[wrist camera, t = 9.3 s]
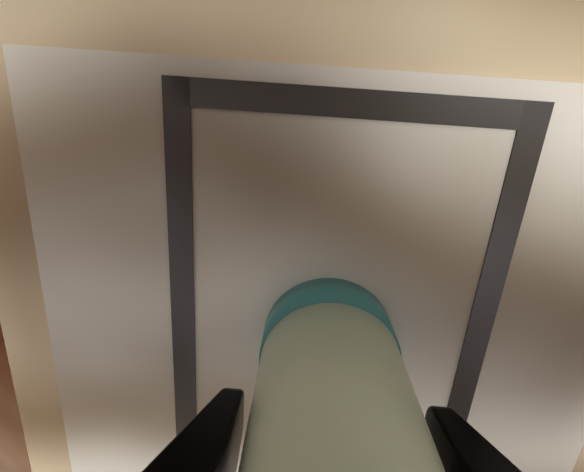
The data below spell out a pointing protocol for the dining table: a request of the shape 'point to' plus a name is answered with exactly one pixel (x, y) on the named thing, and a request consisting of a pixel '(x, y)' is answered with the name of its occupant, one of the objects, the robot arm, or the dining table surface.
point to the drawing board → (288, 208)
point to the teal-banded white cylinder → (334, 389)
